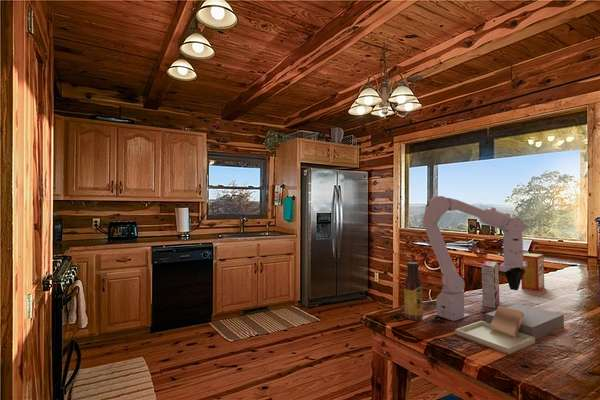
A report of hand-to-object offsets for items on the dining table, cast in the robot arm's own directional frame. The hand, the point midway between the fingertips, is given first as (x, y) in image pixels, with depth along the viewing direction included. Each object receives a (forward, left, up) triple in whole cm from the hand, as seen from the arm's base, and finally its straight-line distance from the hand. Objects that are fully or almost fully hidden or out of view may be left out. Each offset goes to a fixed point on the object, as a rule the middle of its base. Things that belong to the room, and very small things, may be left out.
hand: (514, 289), depth 114 cm
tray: (-22, -5, -10) cm, 25 cm away
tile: (-15, -5, -7) cm, 17 cm away
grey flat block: (-4, -5, -10) cm, 12 cm away
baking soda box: (+50, +17, -11) cm, 54 cm away
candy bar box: (+10, +14, -11) cm, 20 cm away
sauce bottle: (-28, +20, -11) cm, 36 cm away
